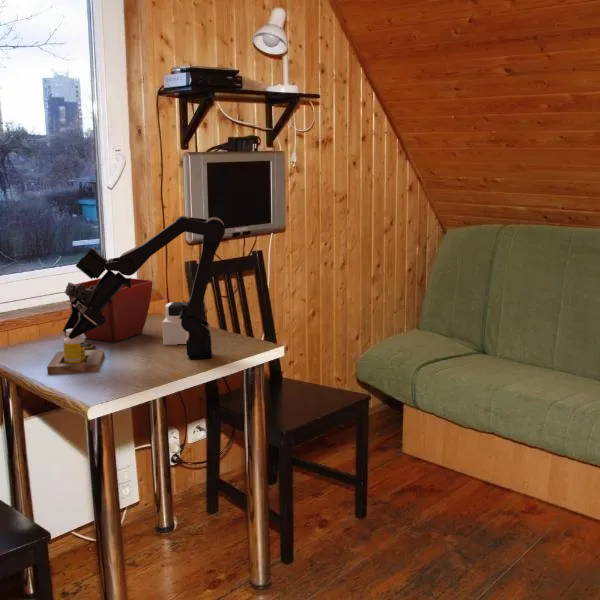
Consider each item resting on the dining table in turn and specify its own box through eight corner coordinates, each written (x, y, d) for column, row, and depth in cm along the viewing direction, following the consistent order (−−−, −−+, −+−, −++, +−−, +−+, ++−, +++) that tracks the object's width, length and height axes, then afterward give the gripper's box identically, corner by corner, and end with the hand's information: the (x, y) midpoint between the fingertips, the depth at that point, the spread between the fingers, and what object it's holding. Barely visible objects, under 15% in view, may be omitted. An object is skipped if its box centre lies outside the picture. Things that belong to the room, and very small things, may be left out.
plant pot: (68, 339, 239) (64, 285, 236) (113, 325, 255) (110, 275, 252) (113, 347, 229) (109, 291, 226) (157, 332, 245) (154, 280, 242)
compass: (99, 350, 226) (97, 326, 225) (72, 355, 222) (70, 330, 220) (88, 344, 233) (86, 321, 231) (62, 349, 228) (60, 325, 227)
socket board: (104, 356, 220) (104, 349, 219) (98, 371, 205) (97, 364, 205) (57, 358, 218) (57, 351, 218) (47, 374, 204) (47, 366, 203)
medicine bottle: (190, 338, 237) (189, 300, 235) (186, 344, 230) (184, 305, 228) (167, 338, 238) (165, 300, 235) (162, 345, 231) (160, 305, 228)
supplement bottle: (84, 367, 208) (82, 331, 206) (63, 368, 207) (61, 332, 205) (86, 361, 213) (84, 327, 211) (65, 362, 212) (63, 327, 210)
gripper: (75, 266, 215) (37, 310, 212) (89, 277, 199) (49, 324, 196) (105, 291, 220) (68, 334, 217) (122, 303, 204) (83, 349, 201)
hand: (66, 334), depth 208 cm, fingers open, 7 cm apart
